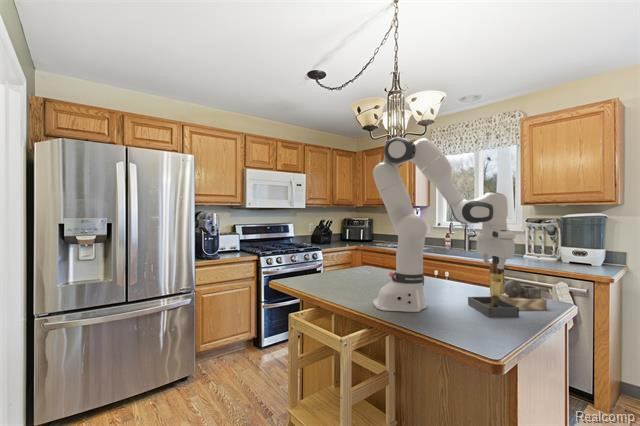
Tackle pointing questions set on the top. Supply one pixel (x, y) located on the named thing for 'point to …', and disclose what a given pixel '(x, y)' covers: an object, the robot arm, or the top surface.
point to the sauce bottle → (496, 273)
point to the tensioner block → (523, 296)
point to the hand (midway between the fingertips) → (493, 266)
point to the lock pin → (495, 292)
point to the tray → (484, 307)
